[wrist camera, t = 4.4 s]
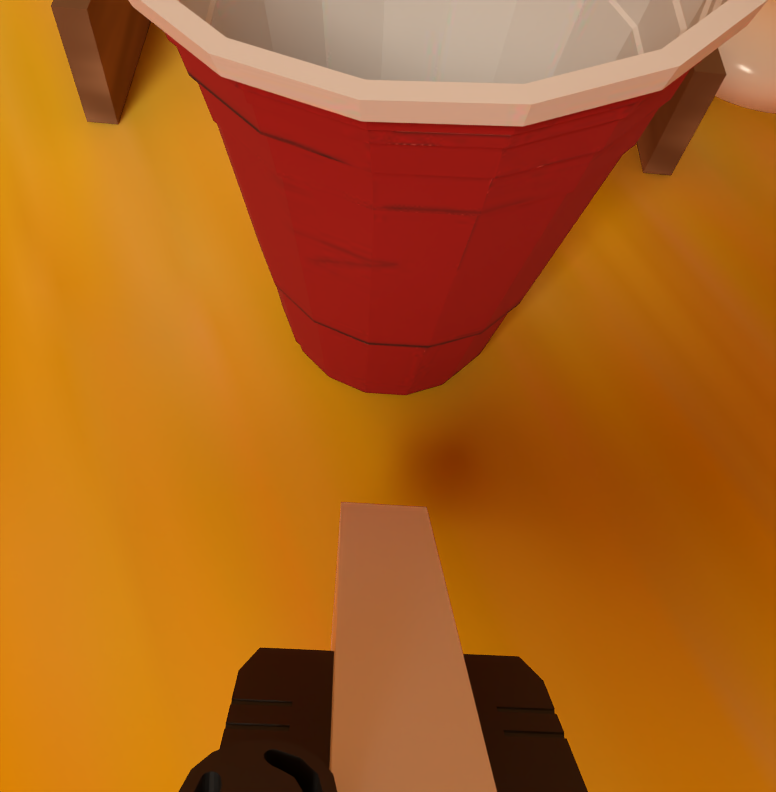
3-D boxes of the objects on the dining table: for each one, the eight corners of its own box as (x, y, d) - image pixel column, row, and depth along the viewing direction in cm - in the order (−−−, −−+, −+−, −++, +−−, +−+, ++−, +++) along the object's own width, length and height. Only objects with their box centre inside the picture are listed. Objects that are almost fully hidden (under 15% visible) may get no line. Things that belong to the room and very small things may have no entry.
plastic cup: (183, 191, 23) (83, -314, 13) (509, 172, 25) (648, -284, 15) (200, 510, 18) (55, 90, 8) (610, 458, 20) (936, 59, 10)
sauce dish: (815, 7, 33) (842, -38, 31) (869, 129, 29) (905, 84, 27) (639, -12, 32) (658, -59, 31) (670, 109, 28) (694, 62, 26)
